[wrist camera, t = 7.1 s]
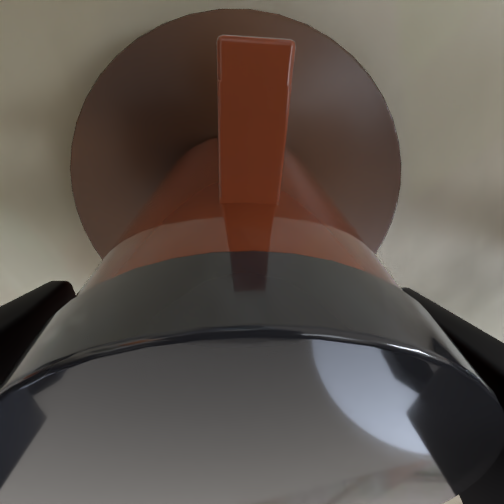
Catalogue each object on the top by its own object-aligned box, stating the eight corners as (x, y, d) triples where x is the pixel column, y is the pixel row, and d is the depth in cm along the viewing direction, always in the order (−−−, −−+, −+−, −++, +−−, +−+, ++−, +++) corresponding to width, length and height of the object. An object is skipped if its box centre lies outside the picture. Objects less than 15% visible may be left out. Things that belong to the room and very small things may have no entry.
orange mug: (308, 285, 14) (396, 544, 6) (166, 283, 13) (70, 561, 6) (354, 68, 9) (1122, 8, 1) (130, 54, 8) (-1006, -184, 1)
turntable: (254, -123, 7) (256, -148, 7) (437, 216, 14) (451, 225, 13) (20, 199, 12) (4, 208, 11) (234, 344, 18) (234, 357, 17)
